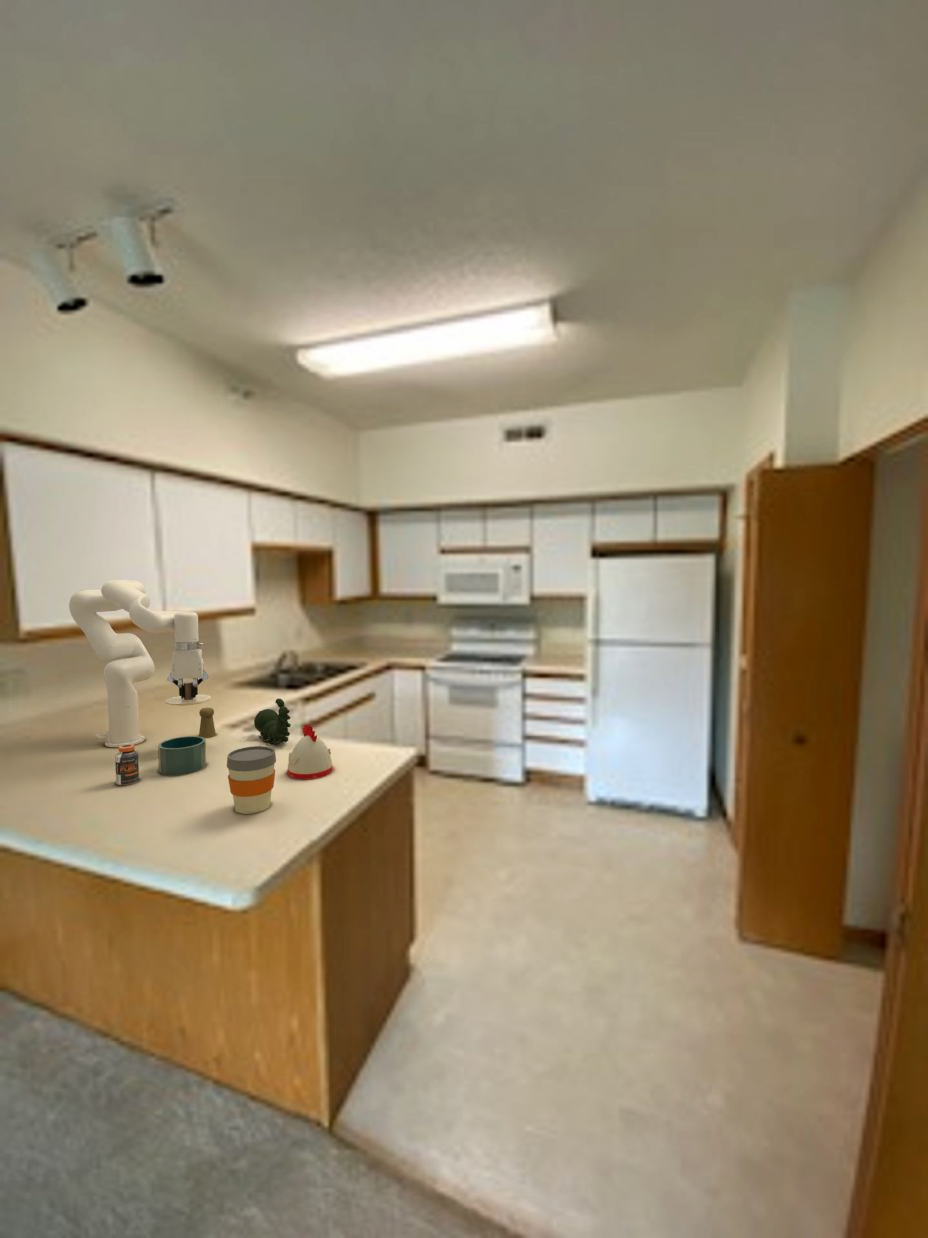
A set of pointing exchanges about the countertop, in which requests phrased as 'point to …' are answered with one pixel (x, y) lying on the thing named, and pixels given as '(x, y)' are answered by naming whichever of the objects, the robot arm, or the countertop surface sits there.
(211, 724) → the cork
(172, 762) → the tin
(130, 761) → the pill bottle
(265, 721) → the toy figurine
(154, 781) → the countertop surface
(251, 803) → the reusable coffee cup
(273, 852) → the countertop surface
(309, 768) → the kitchen timer
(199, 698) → the lid
